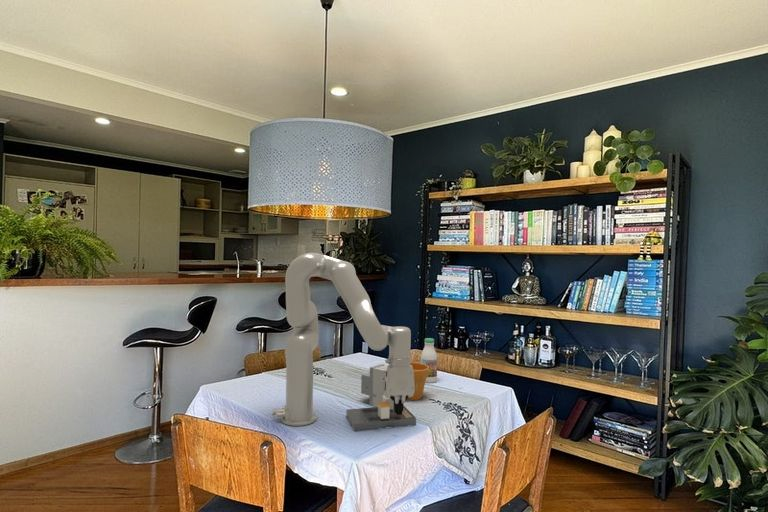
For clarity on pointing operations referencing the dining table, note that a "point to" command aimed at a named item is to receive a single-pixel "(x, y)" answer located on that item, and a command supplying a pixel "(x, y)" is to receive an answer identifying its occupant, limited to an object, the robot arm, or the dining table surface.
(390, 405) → the on lever
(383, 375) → the circuit breaker
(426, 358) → the milk bottle
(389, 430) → the dining table surface
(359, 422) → the slotted slider board
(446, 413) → the dining table surface
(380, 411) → the lever
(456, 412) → the dining table surface
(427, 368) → the flower pot
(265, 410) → the dining table surface
